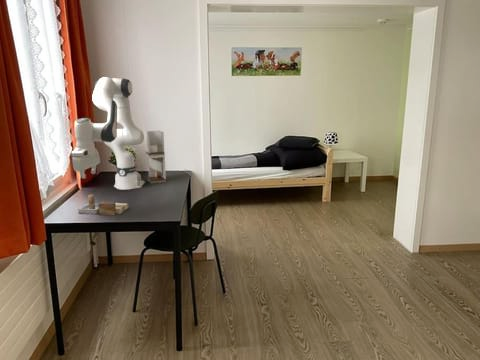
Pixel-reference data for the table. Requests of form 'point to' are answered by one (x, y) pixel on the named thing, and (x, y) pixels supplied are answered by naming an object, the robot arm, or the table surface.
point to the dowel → (91, 201)
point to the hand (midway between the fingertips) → (88, 175)
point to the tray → (86, 209)
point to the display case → (155, 156)
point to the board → (120, 207)
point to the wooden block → (107, 208)
